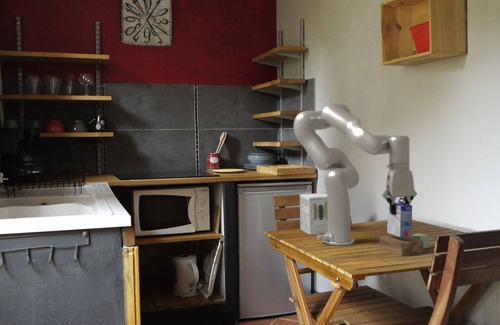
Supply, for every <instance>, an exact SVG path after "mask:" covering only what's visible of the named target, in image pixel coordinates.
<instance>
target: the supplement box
mask: <svg viewBox="0 0 500 325" xmlns="http://www.w3.org/2000/svg"><path fill="white" fill-rule="evenodd" d="M299 214H300V216H299V221H300V226H299V227H300V230H301V231H302V232H304V233H306V234H308V235H323V234H326V232H328V209H327V192H319V193H318V192H317V193H304V194H303V193H302V194H301V193H300V194H299Z"/></svg>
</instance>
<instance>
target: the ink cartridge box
mask: <svg viewBox="0 0 500 325" xmlns="http://www.w3.org/2000/svg"><path fill="white" fill-rule="evenodd" d="M401 200H402V201H401ZM404 202H405V198H404V197H399V199H398V201H397V202H395V204H396V215H393V214H390V204H389V203H388V202H387V234H391V235H396V236H399V237H411V236H412V235H413V205H412V204H410V205H408V204H403V203H404Z"/></svg>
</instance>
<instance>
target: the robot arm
mask: <svg viewBox="0 0 500 325" xmlns="http://www.w3.org/2000/svg"><path fill="white" fill-rule="evenodd" d="M361 122H362V121H361V119H360V118H359V117H357V116H355V115H354V114H353V113H351V109H350V108H349V106H347V105H345V104H343V103H330V104H329V103H328V104H326V105H325V106H324V107H323V108H322V110H305V111H301V112H299V113H298V114H297V115H296V116H295V118H294V120H293V132H294V135H295V136H296V139H297V140H298V141H299V143H300V145H301V146H302V147H303V148H304V150H305V152H306V153H307V154H308V156H309V158H310V159H311V160H312V162H313V163H314V165H315V166H316V168H317V169H318V170H320V171H328V172H327V173H326V175H325V177H324V187H325V193H327V209H328V232H326V233H323V234H316V237H317V240H324V244H328V245H329V246H330V245H331V246H348V245H353V244H355V238H353V237H351V236H352V233H351V232H352V231H351V198H350V194H349V192H348V190H351V189H353V188H356V187H357V186H358V184H359V182H360V176H359V173H358V170H357V169H356V168H355V166H354V165H353V163H352V162H351V160H350V159H349V157H348V156H347V155H346V154H345V152H344V151H342V150H341V149H340V148H337V147H329V146H327V144H326V143H325V142H324V140H323V139H322V137H321V136H320V135H318V134H317V132H315V131H321V130H325V129H330V128H334V129H336V130H338V131H339V132H341V133H342V134H344V135H345V136H346V137H348V140H350V142H351V143H352V144H353V145H354V146H356V147H357V148H359V149H360V150H362V151H363V152H365V153H366V154H368V155H371V156H377V155H386V154H389V155H388V157H389V163H388V164H387V165H386V168H387V169H388V171H387V175H386V183H385V190H384V192H383V193H382V194H381V197H382V198H383V199H384V200H385V201H386V202H387V204H388V203H389V204H390V214H393V215H396V204H395V203H396V199H397V198H400V197H402V198H405V201H404V203H403V204H408V205H411V203H412V202H413V200H414V198H415V197H416V196H417V195H418V193H417V191H416V190H415V182H414V175H413V172H412V170H410V168H411V167H410V165H411V164H410V138H409V136H407V135H385V134H380V135H379V134H377V135H374V134H373V133H371V132H369V131H368V130H366V129H365V128H363V127H362V126H361V124H362V123H361Z"/></svg>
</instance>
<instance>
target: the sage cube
mask: <svg viewBox="0 0 500 325" xmlns="http://www.w3.org/2000/svg"><path fill="white" fill-rule="evenodd" d="M410 238H414V239H418V240H421V241H423V250H425V249H429V248H430V235H429V234H423V233H415V234H413V233H412V236H411V237H410Z"/></svg>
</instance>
